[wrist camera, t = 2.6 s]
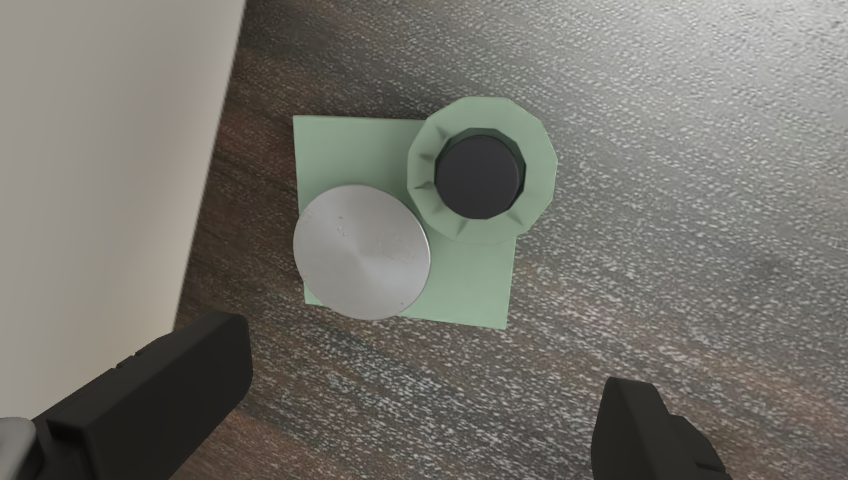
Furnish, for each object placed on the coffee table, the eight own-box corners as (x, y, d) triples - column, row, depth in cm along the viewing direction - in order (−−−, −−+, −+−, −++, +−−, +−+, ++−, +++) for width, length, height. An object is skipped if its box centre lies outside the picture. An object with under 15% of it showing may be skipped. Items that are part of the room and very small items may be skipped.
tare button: (439, 207, 17) (434, 216, 16) (443, 132, 16) (437, 134, 15) (514, 213, 17) (514, 223, 15) (522, 136, 16) (524, 139, 14)
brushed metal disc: (301, 307, 20) (297, 311, 20) (292, 178, 18) (287, 179, 18) (429, 324, 19) (427, 329, 19) (435, 188, 17) (433, 190, 16)
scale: (319, 289, 24) (289, 318, 20) (309, 93, 20) (271, 89, 17) (527, 315, 22) (530, 352, 18) (555, 101, 18) (566, 99, 15)
